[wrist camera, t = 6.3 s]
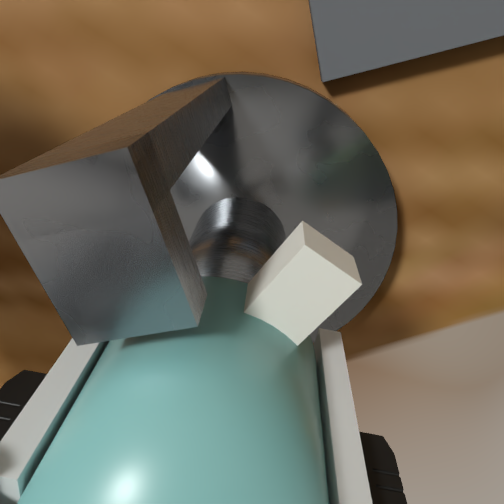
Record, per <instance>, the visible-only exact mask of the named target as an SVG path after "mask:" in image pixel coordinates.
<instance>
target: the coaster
mask: <svg viewBox="0 0 504 504" xmlns="http://www.w3.org/2000/svg"><path fill="white" fill-rule="evenodd" d="M309 6H310V13H311V19H312V25H313V31H314V38H315V44H316V50H317V56H318V63H319V69H320V75H321V81H322V82H325V81H329V80H333V79H337V78H341V77H345V76H349V75H352V74H356V73H360V72H364V71H368V70H372V69H376V68H379V67H383V66H387V65H391V64H395V63H399V62H403V61H407V60H410V59H414V58H418V57H422V56H426V55H430V54H434V53H437V52H441V51H445V50H449V49H453V48H457V47H461V46H464V45H468V44H472V43H476V42H480V41H484V40H488V39H491V38H495V37H499V36H503V35H504V0H309Z"/></svg>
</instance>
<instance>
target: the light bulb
mask: <svg viewBox="0 0 504 504" xmlns="http://www.w3.org/2000/svg"><path fill="white" fill-rule="evenodd" d="M201 277H202V280H203V283H204V286H205V288H206V291H207V297H206V300H205V304H204V307H203V311H202V314H201V317H200V321H199V324H198V327H193V328H186V329H180V330H174V331H168V332H161V333H155V334H149V335H143V336H136V337H130V338H124V339H117V340H111V341H109V343H108V345H107V346H106V348H105V350H104V352H103V353H102V355H101V357H100V359H99V360H98V362H97V364H96V366H95V367H94V369H93V371H92V373H91V374H90V376H89V378H88V380H87V381H86V383H85V385H84V387H83V389H82V390H81V392H80V394H79V396H78V397H77V399H76V401H75V403H74V404H73V406H72V408H71V410H70V411H69V413H68V415H67V417H66V418H65V420H64V422H63V424H62V425H61V427H60V429H59V431H58V432H57V434H56V436H55V438H54V439H53V441H52V443H51V445H50V446H49V448H48V450H47V452H46V453H45V455H44V457H43V459H42V460H41V462H40V464H39V466H38V467H37V469H36V471H35V473H34V475H33V476H32V478H31V480H30V482H29V483H28V485H27V487H26V489H25V490H24V492H23V494H22V496H21V497H20V499H19V501H18V503H17V504H329V495H328V484H327V474H326V463H325V453H324V442H323V431H322V421H321V410H320V400H319V389H318V378H317V368H316V357H315V350H314V346H313V342H312V339H311V337H310V334H311V333H312V332H313V331H314V330H315V329H316V328H317V327H318V326H319V325H320V324H321V323H322V322H323V321H324V320H325V319H326V318H327V317H329V316H330V315H331V314H332V313H333V312H334V311H335V310H336V309H337V308H338V307H339V306H340V305H341V304H342V303H343V302H344V301H345V300H346V299H347V298H349V297H350V296H351V295H352V294H353V293H354V292H355V291H356V290H357V289H358V288H359V287H360V286H361V285H362V282H361V279H360V276H359V273H358V269H357V266H356V263H355V260H354V257H353V256H352V255H350V254H349V253H348V252H346V251H345V250H343V249H342V248H341V247H339V246H338V245H336V244H335V243H334V242H332V241H331V240H329V239H328V238H327V237H325V236H324V235H322V234H321V233H319V232H318V231H317V230H315V229H314V228H312V227H311V226H310V225H308V224H307V223H305V222H304V221H302V222H301V223H300V224H299V225H298V226H297V227H296V229H295V230H294V231H293V232H292V233H291V234H290V235H289V237H288V238H287V239H286V240H285V241H284V242H283V244H282V245H281V246H280V247H279V248H278V249H277V250H276V252H275V253H274V254H273V255H272V256H271V257H270V259H269V260H268V261H267V262H266V263H265V264H264V265H263V267H262V268H261V269H260V270H259V271H258V272H257V273H256V275H255V276H254V277H253V278H252V279H251V280H250V282H249V283H245V282H241V281H238V280H234V279H228V278H222V277H210V276H201Z"/></svg>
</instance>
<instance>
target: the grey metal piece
mask: <svg viewBox="0 0 504 504" xmlns="http://www.w3.org/2000/svg"><path fill="white" fill-rule="evenodd" d="M0 214H1V216H2V217H3V219H4V221H5V222H6V224H7V226H8V228H9V229H10V231H11V233H12V234H13V236H14V238H15V240H16V241H17V243H18V245H19V247H20V248H21V250H22V252H23V253H24V255H25V257H26V259H27V260H28V262H29V264H30V265H31V267H32V269H33V271H34V272H35V274H36V276H37V277H38V279H39V281H40V283H41V284H42V286H43V288H44V290H45V291H46V293H47V295H48V296H49V298H50V300H51V302H52V303H53V305H54V307H55V308H56V310H57V312H58V314H59V315H60V317H61V319H62V320H63V322H64V324H65V326H66V327H67V329H68V331H69V332H70V334H71V336H72V338H73V339H74V341H75V343H76V345H77V346H80V345H86V344H92V343H99V342H105V341H111V340H117V339H124V338H130V337H136V336H143V335H149V334H155V333H161V332H168V331H174V330H180V329H186V328H193V327H198V324H199V321H200V317H201V314H202V311H203V307H204V304H205V300H206V297H207V291H206V288H205V286H204V283H203V280H202V277H201V276H210V277H222V278H228V279H234V280H238V281H241V282H245V283H249V282H250V280H251V279H252V278H253V277H254V276H255V275H256V273H257V272H258V271H259V270H260V269H261V268H262V267H263V265H264V264H265V263H266V262H267V261H268V260H269V259H270V257H271V256H272V255H273V254H274V253H275V252H276V250H277V249H278V248H279V247H280V246H281V245H282V244H283V242H284V241H285V240H286V239H287V238H288V237H289V235H290V234H291V233H292V232H293V231H294V230H295V229H296V227H297V226H298V225H299V224H300V223H301V222H302V221H304V222H305V223H307V224H308V225H310V226H311V227H312V228H314V229H315V230H317V231H318V232H319V233H321V234H322V235H324V236H325V237H327V238H328V239H329V240H331V241H332V242H334V243H335V244H336V245H338V246H339V247H341V248H342V249H343V250H345V251H346V252H348V253H349V254H350V255H352V256H353V257H354V260H355V263H356V266H357V269H358V273H359V276H360V279H361V282H362V285H361V286H360V287H359V288H358V289H357V290H356V291H355V292H354V293H353V294H352V295H351V296H350V297H349V298H347V299H346V300H345V301H344V302H343V303H342V304H341V305H340V306H339V307H338V308H337V309H336V310H335V311H334V312H333V313H332V314H331V315H330V316H329V317H327V318H326V319H325V320H324V321H323V322H322V323H321V324H320V325H319V326H318V327H317V328H316V329H315V330H314V331H313V332H312V333H311V334H310V337H311V339H312V342H313V343H314V342H315V339H316V336H317V333H318V330H319V328H322V329H327V330H332V331H337V330H338V329H340V328H341V327H342V326H344V325H345V324H347V323H348V322H349V321H350V320H352V319H353V318H354V317H355V316H356V315H357V314H358V313H359V312H360V311H361V310H362V309H363V308H364V307H365V306H366V304H367V303H368V302H369V301H370V299H371V298H372V297H373V296H374V294H375V293H376V291H377V289H378V288H379V286H380V285H381V283H382V281H383V279H384V277H385V275H386V272H387V270H388V268H389V266H390V263H391V259H392V256H393V252H394V249H395V243H396V235H397V207H396V201H395V195H394V190H393V186H392V183H391V180H390V177H389V174H388V171H387V169H386V167H385V165H384V163H383V161H382V159H381V157H380V155H379V153H378V151H377V150H376V149H375V147H374V146H373V144H372V143H371V142H370V140H369V139H368V137H367V136H366V135H365V133H364V132H363V131H362V129H361V128H360V127H359V126H358V125H357V124H356V123H355V122H354V121H353V120H352V119H351V118H350V117H349V116H348V114H347V113H346V112H345V111H343V110H342V109H341V108H339V107H338V106H337V105H336V104H334V103H333V102H332V101H330V100H329V99H328V98H326V97H325V96H323V95H321V94H319V93H318V92H316V91H314V90H312V89H311V88H309V87H306V86H304V85H301V84H299V83H296V82H294V81H291V80H289V79H285V78H281V77H277V76H273V75H269V74H263V73H252V72H227V73H217V74H212V75H207V76H202V77H198V78H195V79H192V80H190V81H187V82H184V83H181V84H179V85H176V86H174V87H172V88H170V89H168V90H167V91H165V92H163V93H161V94H159V95H157V96H155V97H153V98H152V99H150V100H149V101H147V102H146V103H144V104H142V105H140V106H138V107H136V108H134V109H132V110H130V111H128V112H126V113H124V114H122V115H120V116H118V117H116V118H114V119H112V120H110V121H108V122H106V123H104V124H102V125H100V126H98V127H96V128H94V129H92V130H90V131H88V132H86V133H84V134H82V135H80V136H78V137H76V138H74V139H72V140H70V141H68V142H66V143H64V144H62V145H60V146H58V147H56V148H54V149H51V150H49V151H47V152H45V153H43V154H41V155H39V156H37V157H35V158H33V159H31V160H29V161H27V162H25V163H23V164H21V165H19V166H17V167H15V168H13V169H11V170H9V171H7V172H5V173H3V174H1V175H0Z"/></svg>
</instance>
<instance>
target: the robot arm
mask: <svg viewBox="0 0 504 504" xmlns="http://www.w3.org/2000/svg"><path fill="white" fill-rule="evenodd" d="M108 343H109V341H105V342H99V343H92V344H86V345H80V346H77V345H76V343H75V341H74V339H73V338H72V339H71V341H70V342H69V344H68V345H67V346H66V348H65V349H64V351H63V352H62V354H61V355H60V357H59V358H58V359H57V361H56V362H55V364H54V365H53V367H52V368H51V369H50V371H49V372H48V374H44V373H38V372H33V371H28V370H23V371H22V372H20V373H19V374H17V375H16V376H14V377H13V378H11V379H10V380H9V381H7V382H6V383H5V384H4V385H3V386H2V388H1V389H0V504H17V503H18V501H19V499H20V497H21V496H22V494H23V492H24V490H25V489H26V487H27V485H28V483H29V482H30V480H31V478H32V476H33V475H34V473H35V471H36V469H37V467H38V466H39V464H40V462H41V460H42V459H43V457H44V455H45V453H46V452H47V450H48V448H49V446H50V445H51V443H52V441H53V439H54V438H55V436H56V434H57V432H58V431H59V429H60V427H61V425H62V424H63V422H64V420H65V418H66V417H67V415H68V413H69V411H70V410H71V408H72V406H73V404H74V403H75V401H76V399H77V397H78V396H79V394H80V392H81V390H82V389H83V387H84V385H85V383H86V381H87V380H88V378H89V376H90V374H91V373H92V371H93V369H94V367H95V366H96V364H97V362H98V360H99V359H100V357H101V355H102V353H103V352H104V350H105V348H106V346H107V345H108ZM313 346H314V350H315V357H316V368H317V378H318V389H319V400H320V410H321V421H322V431H323V442H324V453H325V463H326V474H327V484H328V495H329V504H407V502H406V498H405V494H404V493H403V486H402V482H401V478H400V477H399V471H398V467H397V463H396V459H395V455H394V453H393V451H392V450H391V448H390V447H389V445H388V443H387V442H386V440H385V439H384V437H383V436H379V435H374V434H369V433H363V432H359V428H358V423H357V417H356V412H355V407H354V401H353V396H352V391H351V385H350V380H349V374H348V369H347V363H346V358H345V353H344V347H343V342H342V336H341V332H337V331H332V330H327V329H322V328H319V330H318V333H317V336H316V339H315V342H314V345H313Z"/></svg>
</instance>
